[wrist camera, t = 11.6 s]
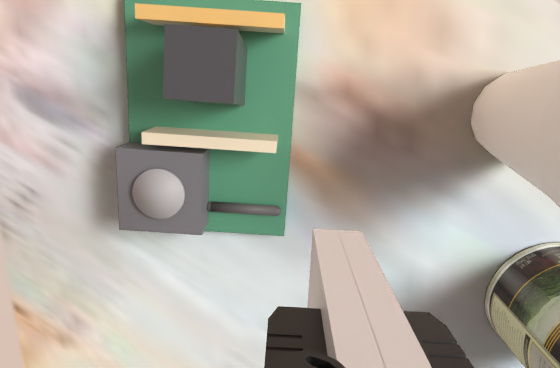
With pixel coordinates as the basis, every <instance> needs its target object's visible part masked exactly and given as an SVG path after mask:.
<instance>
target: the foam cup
mask: <svg viewBox="0 0 560 368" xmlns="http://www.w3.org/2000/svg"><path fill="white" fill-rule="evenodd" d="M471 126H472V129H473V132H474V135H475V138H476V140H477V141H478V142H479V143H480V144H481V145H482V146H483V147H484V148H485V149H486V150H487V151H488V152H490V153H491V154H492V155H493V156H495V157H496V158H497V159H499V160H500V161H501V162H503V163H504V164H505V165H507V166H508V167H509V168H511V169H512V170H514V171H515V172H516V173H518V174H519V175H520V176H522V177H523V178H524V179H526V180H527V181H528V182H530V183H531V184H532V185H534V186H535V187H537V188H538V189H539V190H541V191H542V192H543V193H545V194H546V195H547V196H549V197H550V198H551V199H552V200H553V201H554V202H555V203H556V204H557V205H558V206H559V207H560V60H559V61H555V62H551V63H547V64H543V65H539V66H535V67H531V68H526V69H522V70H518V71H514V72H510V73H506V74H503V75H501V76H499V77H498V78H497V79H495V80H494V81H492V82H491V83H489V84H488V85H486V86H485V87H484V89H483V90H482V92H481V93H480V95H479V96H478V98H477V99H476V101H475V103H474V105H473V111H472V117H471Z"/></svg>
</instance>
